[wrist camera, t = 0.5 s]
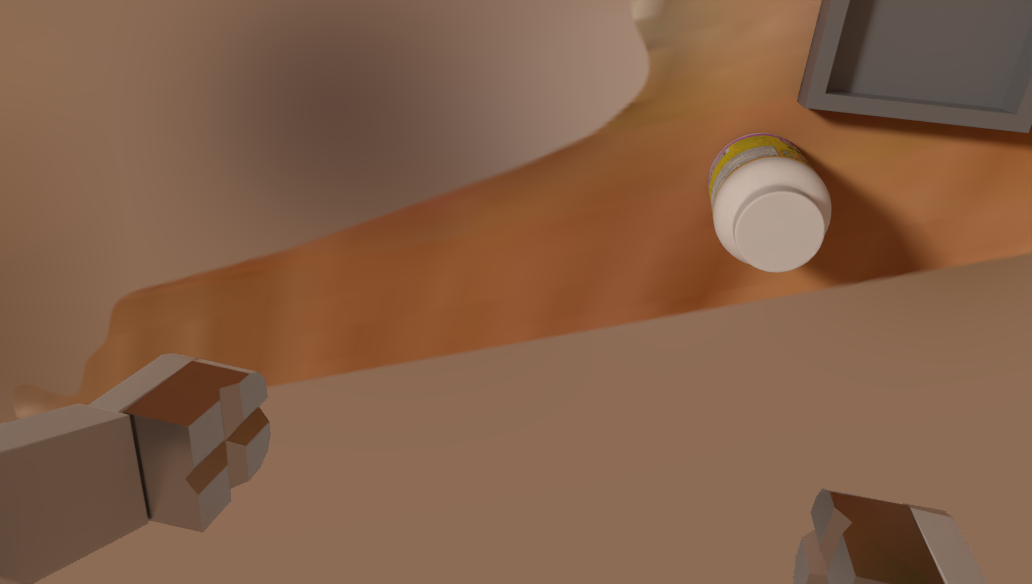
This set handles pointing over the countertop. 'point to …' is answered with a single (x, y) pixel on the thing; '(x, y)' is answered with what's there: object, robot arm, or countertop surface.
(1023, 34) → the tray
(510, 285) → the countertop surface
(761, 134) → the supplement bottle
